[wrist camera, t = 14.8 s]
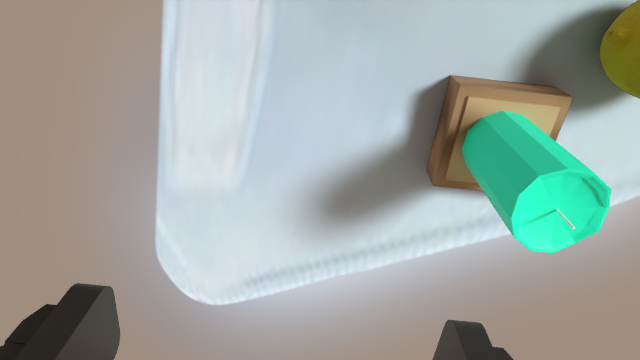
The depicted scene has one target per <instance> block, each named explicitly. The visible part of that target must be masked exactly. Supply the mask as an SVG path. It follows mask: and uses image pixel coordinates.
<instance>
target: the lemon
mask: <svg viewBox="0 0 640 360" xmlns="http://www.w3.org/2000/svg"><path fill="white" fill-rule="evenodd" d="M599 57H600V60H601V63H602V66H603V69H604V72H605V74H606V75H607V77H608V78H609V79H610V80H611V81H612V82H613V84H615V85H616V86H617V87H619V88H620V89H622V90H623V91H625V92H627V93H629V94H631V95H633V96H635V97H637V98H639V99H640V0H638V1H636V2H635V3H633V4H632V5H630V6H629V7H628V8H627V9H625V10H624V11H623V12H622V13H621V14H620V15H619V16H618V17H617V18H616V19H615V20H614V22H613V23H612V24H611V26H610V27H609V28H608V30H607V31H606V33H605V34H604V37H603V39H602V42H601V47H600V54H599Z"/></svg>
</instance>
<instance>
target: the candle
mask: <svg viewBox="0 0 640 360" xmlns="http://www.w3.org/2000/svg"><path fill="white" fill-rule="evenodd" d="M462 151H463V156H464V160H465V164H466V166H467V167H468V169H469V170H470V172H471V173H472V175H473V176H474V178H475V179H476V181H477V182H478V184H479V185H480V187H481V188H482V190H483V191H484V193H485V194H486V196H487V197H488V199H489V200H490V202H491V203H492V205H493V206H494V208H495V209H496V211H497V212H498V214H499V215H500V217H501V218H502V220H503V221H504V223H505V224H506V226H507V227H508V229H509V230H510V232H511V233H512V235H513V236H514V238H516V239H517V240H518V241H519V242H520V243H522V244H523V245H524V246H525V247H526V248H528V249H529V250H531V251H539V252H548V253H554V252H556V251H558V250H561V249H563V248H565V247H568V246H570V245H572V244H574V243H576V242H578V241H580V240H582V239H584V238H586V237H588V236H590V235H592V234H594V233H596V232H598V231H600V229H601V226H602V224H603V221H604V219H605V217H606V214H607V212H608V209H609V205H610V194H611V189H610V188H609V187H608V186H607V185H606V184H605V183H604V182H603V181H602V180H601V179H600V178H599V177H598V176H597V175H596V174H595V173H594V172H592V171H591V170H590V169H589V168H588V167H586V166H585V165H584V164H583V163H581V162H580V161H579V160H578V159H576V158H575V157H574V156H573V155H571V154H570V153H569V152H568V151H567V150H565V149H564V148H563V147H562V146H560V145H559V144H558V143H557V142H555V141H554V140H553V139H552V138H550V137H549V136H548V135H547V134H546V133H544V132H543V131H542V130H541V129H539V128H538V127H537V126H536V125H534V124H533V123H532V122H531V121H530V120H528V119H527V118H526V117H525V116H523V115H522V114H520V113H514V112H508V111H500V112H497V113H494V114H491V115H488V116H485V117H482V118H481V119H480V120H479V121H478V122H477V123H476V124H475V125H474V126H473V127H472V128H471V129H470V130H469V131H468V132H467V135H466V138H465V141H464V144H463V146H462Z"/></svg>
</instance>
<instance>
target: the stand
mask: <svg viewBox="0 0 640 360" xmlns="http://www.w3.org/2000/svg"><path fill="white" fill-rule="evenodd" d="M572 100H573V97H571V96H569V95H568V94H566V93H564V92H562V91H561V90H559V89H557V88H555V87H548V86H540V85H531V84H523V83H514V82H505V81H497V80H488V79H480V78H471V77H462V76H454V75H451V76H450V80H449V84H448V88H447V91H446V95H445V99H444V103H443V107H442V111H441V115H440V119H439V123H438V126H437V130H436V134H435V138H434V142H433V146H432V150H431V154H430V158H429V161H428V165H427V169H426V171H427V173H428V175H429V177H430V179H431V182H432V184H433V186H442V187H452V188H461V189H471V190H480V191H483V190H482V188H481V187H480V185H479V184H478V182H477V181H476V179H475V178H474V176H473V175H472V173H471V172H470V170H469V169H468V167H467V166H466V164H465V160H464V156H463V151H462V146H463V144H464V141H465V138H466V135H467V132H468V131H469V130H470V129H471V128H472V127H473V126H474V125H475V124H476V123H477V122H478V121H479V120H480V119H481V118H482V117H485V116H488V115H491V114H494V113H497V112H500V111H508V112H514V113H520V114H522V115H523V116H525V117H526V118H527V119H528V120H530V121H531V122H532V123H533V124H534V125H536V126H537V127H538V128H539V129H541V130H542V131H543V132H544V133H546V134H547V135H548V136H549V137H550V138H552V139H553V140H554V141H556V139H557V136H558V134H559V132H560V129H561V127H562V124H563V122H564V119H565V117H566V114H567V112H568V109H569V107H570V104H571V102H572Z"/></svg>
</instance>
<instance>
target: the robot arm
mask: <svg viewBox="0 0 640 360" xmlns="http://www.w3.org/2000/svg"><path fill="white" fill-rule="evenodd" d="M119 340H120V328H119V322H118V316H117V310H116V303H115V297H114V292H113V289H112V288H111V287H109V286H99V285H90V284H79V283H77V284H75V285H73V286H72V287H71V288H70V289H69V291H67V293H66V294H65V295H64V296H63V298H62V299H61V300H60V302H59V303H58V304H57V305H49V304H46V305H45V306H43V307H42V308H40V309H39V310H38V311H36V312H34V313H33V314H32V315H30V316H29V317H27V318H26V319H24V320H23V321H22V322H21V323H20V324H19V326H18V327H17V328H16V329H15V330H14V331H13V333H12V334H11V335H10V336H9V337H8V338H7V340H6V341H5V344H4V346H1V347H0V360H113V359H114V358H115V355H116V353H117V349H118V346H119ZM433 360H513V359H512V358H511V357H510V355H509V354H508V353H507V352H506V351H505V350H504V349H503V348H498V347H492V345H491V342H490V340H489V338H488V335H487V333H486V331H485V329H484V327H483V325H482V324H481V323H477V322H466V321H455V320H448V321H447V322H446V323H445V326H444V329H443V331H442V334H441V337H440V340H439V343H438V346H437V349H436V352H435V355H434V357H433Z"/></svg>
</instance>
